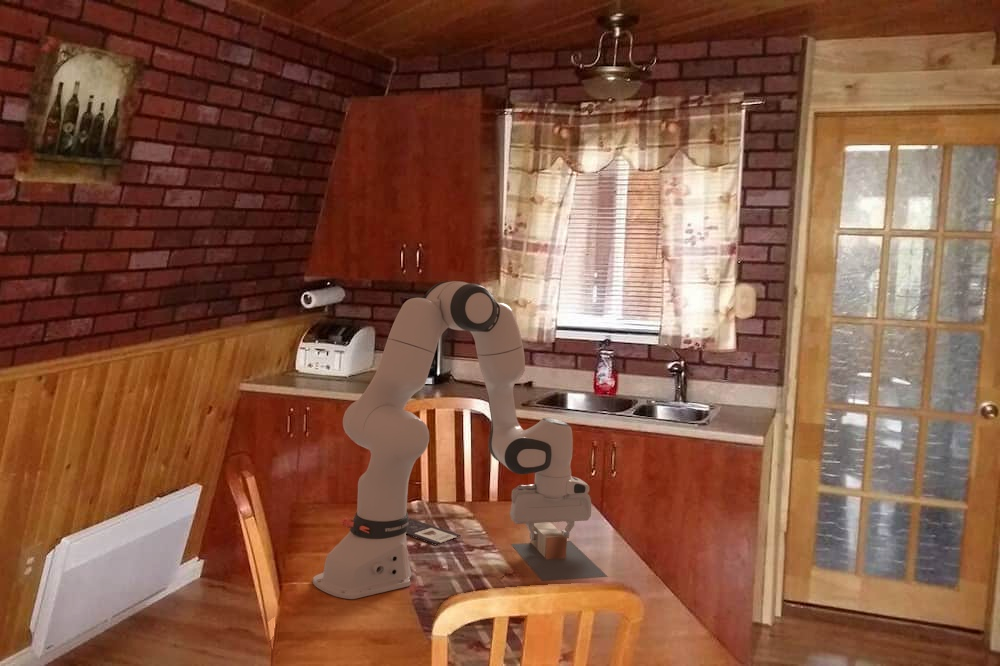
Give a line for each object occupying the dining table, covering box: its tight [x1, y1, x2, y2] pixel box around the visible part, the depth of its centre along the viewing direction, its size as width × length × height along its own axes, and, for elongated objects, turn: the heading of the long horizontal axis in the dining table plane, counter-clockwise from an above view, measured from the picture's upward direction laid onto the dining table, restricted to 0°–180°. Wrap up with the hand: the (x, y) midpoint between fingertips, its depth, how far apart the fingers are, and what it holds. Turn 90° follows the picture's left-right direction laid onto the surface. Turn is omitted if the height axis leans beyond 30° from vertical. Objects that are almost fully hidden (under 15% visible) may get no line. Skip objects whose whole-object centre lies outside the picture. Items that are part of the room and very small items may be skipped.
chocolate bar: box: [406, 518, 461, 546], centre depth 236 cm, size 9×1×18 cm
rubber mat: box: [510, 540, 608, 582], centre depth 219 cm, size 24×16×1 cm, turn 17°
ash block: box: [530, 522, 568, 559], centre depth 225 cm, size 5×5×12 cm
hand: (549, 538), depth 225 cm, fingers open, 7 cm apart
